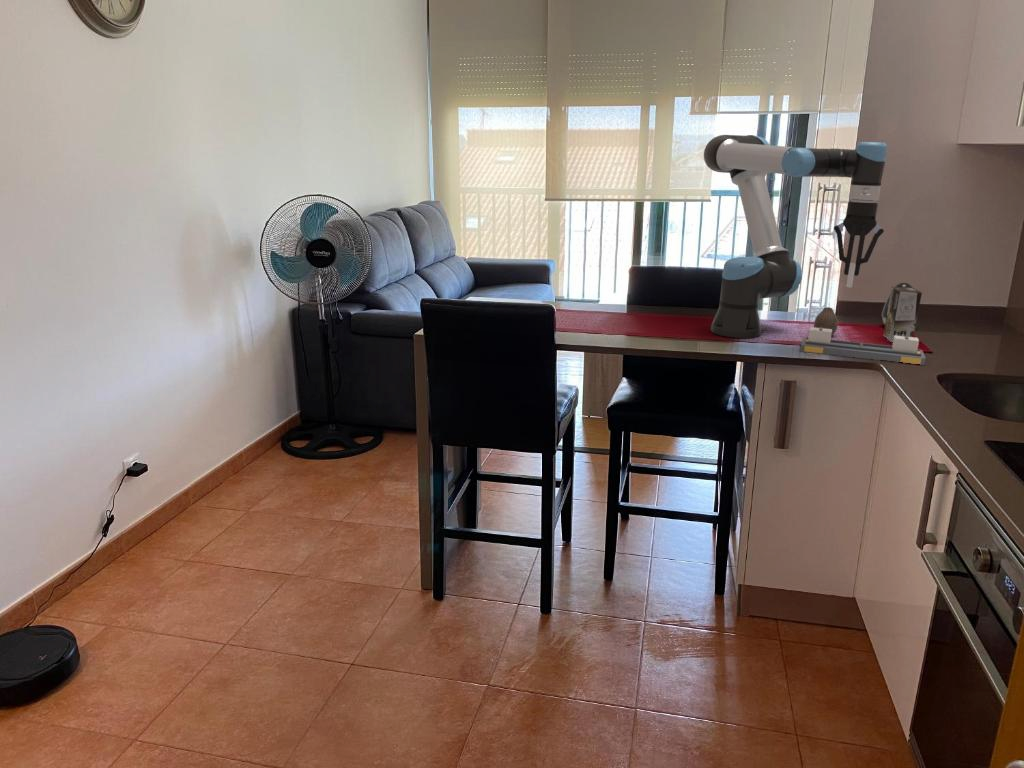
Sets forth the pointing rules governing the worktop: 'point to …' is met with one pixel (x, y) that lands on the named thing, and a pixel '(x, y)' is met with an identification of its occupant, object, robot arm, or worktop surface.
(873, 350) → the grey slider track
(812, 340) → the slider
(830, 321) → the vase
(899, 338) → the slider
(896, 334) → the coffee box
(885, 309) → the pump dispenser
